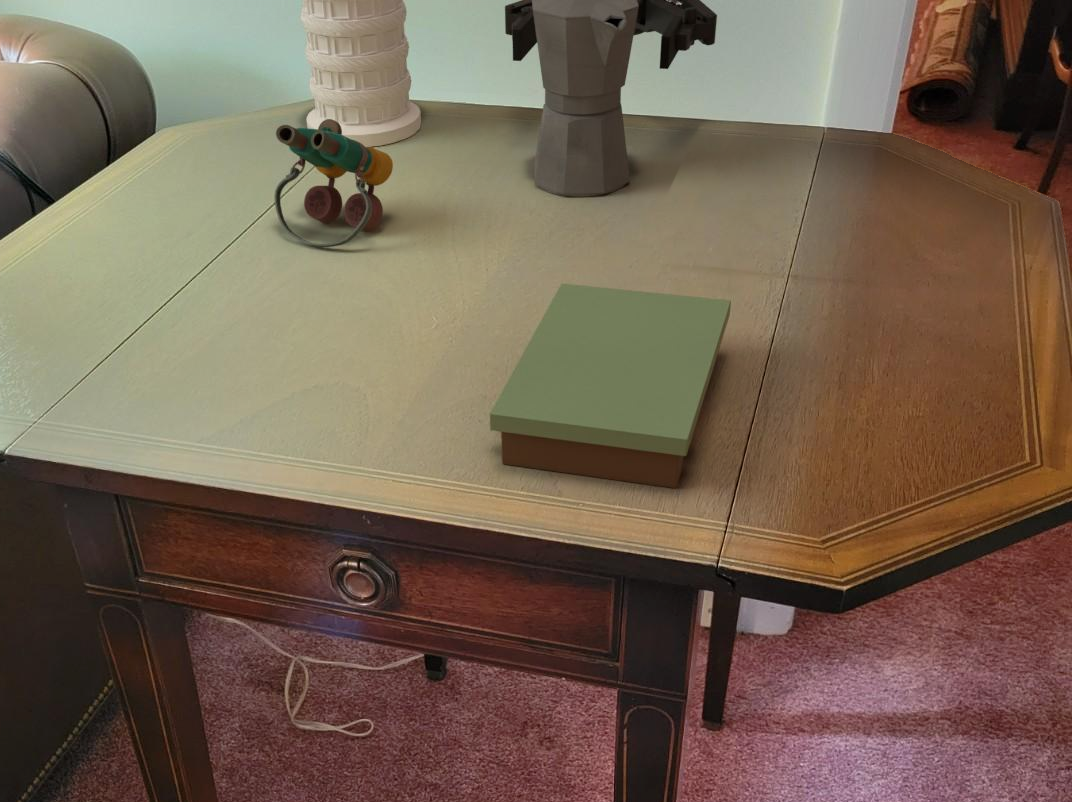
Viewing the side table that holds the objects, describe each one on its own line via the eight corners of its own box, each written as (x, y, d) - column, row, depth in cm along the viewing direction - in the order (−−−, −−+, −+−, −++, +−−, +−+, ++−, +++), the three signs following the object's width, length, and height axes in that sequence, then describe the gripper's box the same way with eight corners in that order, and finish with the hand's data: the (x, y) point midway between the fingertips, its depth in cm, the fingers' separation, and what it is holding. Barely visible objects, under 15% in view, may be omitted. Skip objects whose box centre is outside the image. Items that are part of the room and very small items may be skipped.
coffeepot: (661, 194, 108) (675, -28, 96) (565, 214, 105) (567, -12, 94) (585, 139, 119) (589, -66, 107) (496, 155, 117) (491, -53, 105)
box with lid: (725, 352, 86) (731, 300, 84) (682, 495, 73) (687, 439, 71) (560, 333, 89) (561, 283, 86) (491, 468, 76) (489, 413, 73)
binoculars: (385, 264, 104) (411, 144, 102) (328, 243, 96) (355, 113, 94) (296, 245, 108) (319, 129, 106) (233, 223, 99) (257, 98, 98)
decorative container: (296, 118, 127) (271, -76, 115) (402, 101, 129) (388, -89, 118) (323, 155, 118) (299, -50, 107) (436, 136, 121) (424, -65, 109)
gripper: (755, 31, 124) (725, 100, 108) (519, 21, 130) (459, 84, 115) (764, -50, 119) (733, 9, 104) (518, -57, 125) (455, -2, 110)
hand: (589, 49), depth 109 cm, fingers open, 13 cm apart
